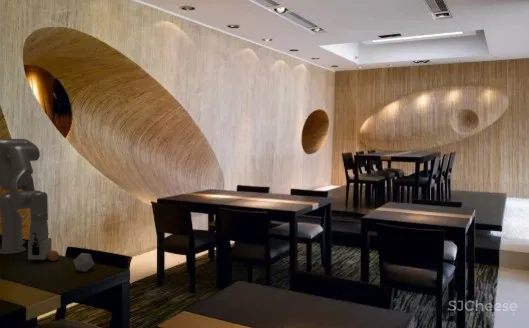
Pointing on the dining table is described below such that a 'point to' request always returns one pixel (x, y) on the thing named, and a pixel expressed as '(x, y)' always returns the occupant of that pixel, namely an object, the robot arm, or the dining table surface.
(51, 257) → the ball
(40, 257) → the grey block
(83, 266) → the die
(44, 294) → the dining table surface
